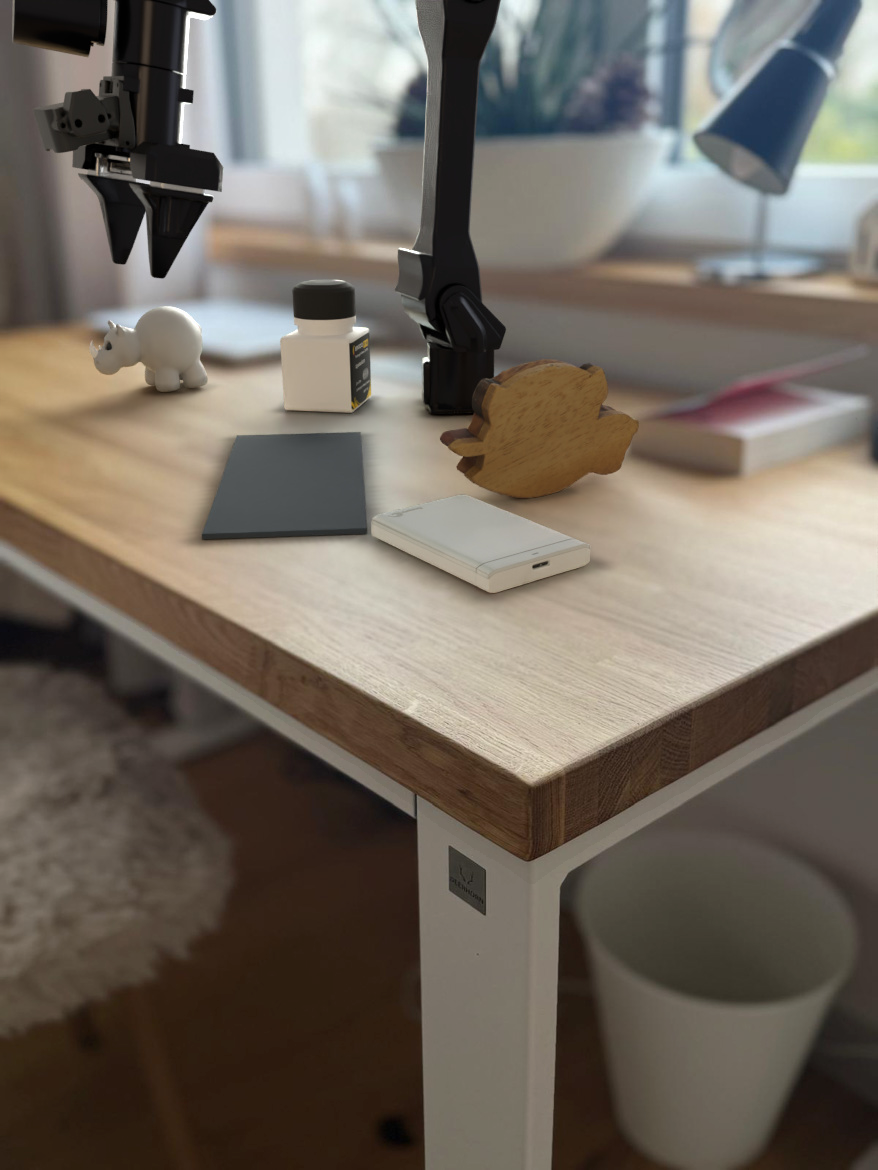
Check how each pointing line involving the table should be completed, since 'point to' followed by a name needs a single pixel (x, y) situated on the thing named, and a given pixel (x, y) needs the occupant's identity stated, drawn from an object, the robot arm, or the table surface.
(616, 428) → the wooden carving
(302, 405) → the medicine bottle
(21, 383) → the table surface
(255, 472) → the slate mat
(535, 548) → the hard drive
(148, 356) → the chubby cartoon animal
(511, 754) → the table surface
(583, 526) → the table surface
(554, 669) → the table surface
